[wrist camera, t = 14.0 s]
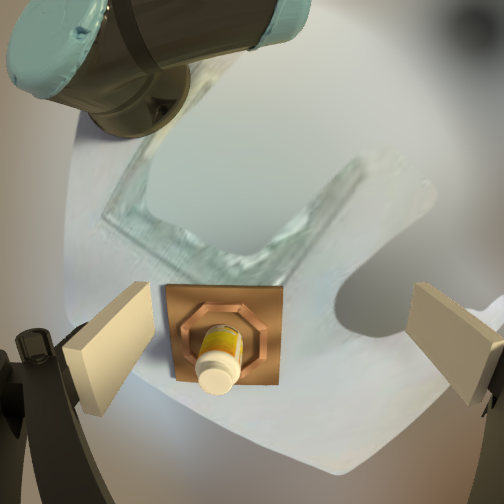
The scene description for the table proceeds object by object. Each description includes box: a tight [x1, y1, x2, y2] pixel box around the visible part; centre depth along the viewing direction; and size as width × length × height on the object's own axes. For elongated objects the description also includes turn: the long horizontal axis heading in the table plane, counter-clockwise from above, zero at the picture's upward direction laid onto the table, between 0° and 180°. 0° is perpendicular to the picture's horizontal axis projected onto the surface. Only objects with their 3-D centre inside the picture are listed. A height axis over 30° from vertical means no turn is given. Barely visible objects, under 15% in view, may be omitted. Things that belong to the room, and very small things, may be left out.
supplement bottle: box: [195, 325, 243, 395], centre depth 38 cm, size 6×6×10 cm
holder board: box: [165, 284, 283, 385], centre depth 43 cm, size 16×16×2 cm
